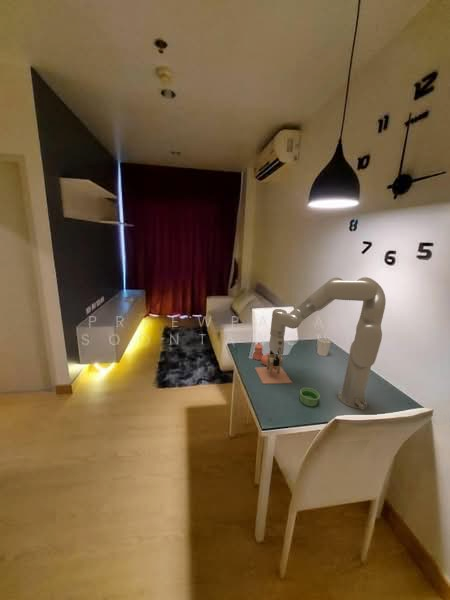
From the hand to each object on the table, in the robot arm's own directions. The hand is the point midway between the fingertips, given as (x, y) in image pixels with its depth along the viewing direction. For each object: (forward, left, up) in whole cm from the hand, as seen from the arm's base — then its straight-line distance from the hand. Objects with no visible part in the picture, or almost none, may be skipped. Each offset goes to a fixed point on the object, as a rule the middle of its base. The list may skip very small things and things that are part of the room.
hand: (273, 362), depth 137 cm
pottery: (+16, -1, -8) cm, 18 cm away
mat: (0, 0, -8) cm, 8 cm away
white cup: (+24, -44, -8) cm, 51 cm away
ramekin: (-23, -10, -8) cm, 27 cm away
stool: (0, 0, -6) cm, 6 cm away
